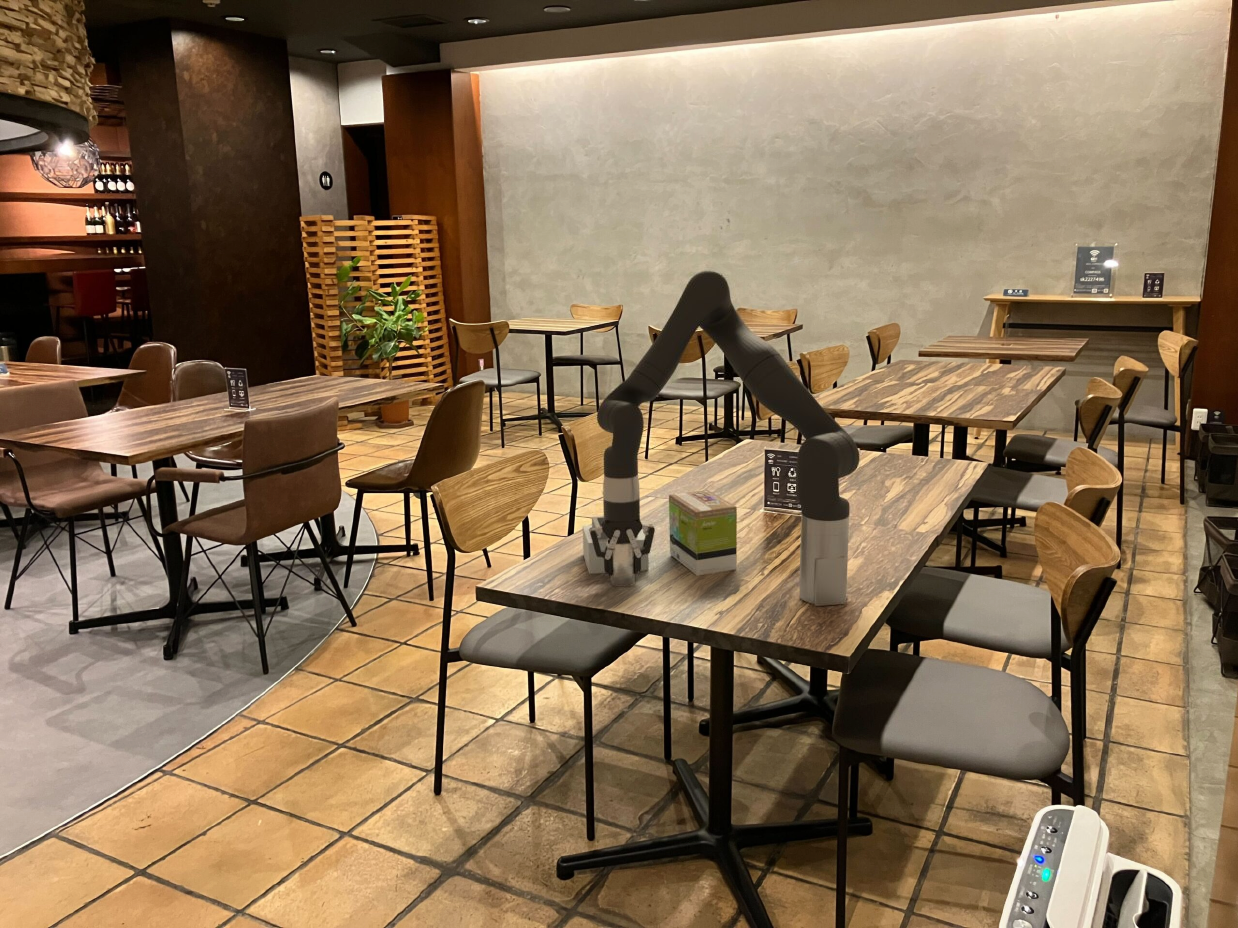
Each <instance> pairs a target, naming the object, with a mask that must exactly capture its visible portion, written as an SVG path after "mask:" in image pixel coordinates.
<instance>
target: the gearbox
mask: <svg viewBox="0 0 1238 928" xmlns="http://www.w3.org/2000/svg"><path fill="white" fill-rule="evenodd" d="M603 521H604V515H601V516H592V517H591V524H588V525H587V524H584V525H582V550H583V551H582V553H583V558H584V561H585V564H586V568H587V570H588V573H589V575H593V574H606V572H605V570H604V558H602V557H597V556H596V553H595V549H594V546H593V542H592V539H591V535H590V532H589V529H590V528H591V527H593V528H597V527H601V526H602V524H603ZM635 539H636V542H637V544H638V547H639V548H641V547H643V543H644V539H645V535H644V533H643V530H641V531H640V533H639V534H638V535H637V537H636V538H635ZM607 540H608V537H607V536H606V535H605V533H604V532H601V537H600V538H598V541H599V545H600V548H601V550H605V547H606V543H607ZM649 559H650V558H649V554H645V555H643V556H642V557H641V571H649V569H650V566H649V564H650V563H649Z"/></svg>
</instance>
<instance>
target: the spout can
mask: <svg viewBox="0 0 1238 928" xmlns="http://www.w3.org/2000/svg"><path fill="white" fill-rule="evenodd" d="M611 560H612V576H610V583H611V585H613V586H616V587H628V586H629V587H630V586H633V585H635V583H636V582H635V581H636V579H635V578H636V576H635V575H636V574H635V569H634V550H633V547H632V543H631V542H630V543H616V544H615V548H614V550H613V552H612V555H611Z"/></svg>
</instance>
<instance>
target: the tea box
mask: <svg viewBox="0 0 1238 928" xmlns="http://www.w3.org/2000/svg"><path fill="white" fill-rule="evenodd" d="M737 511H738V507H737V506H736V505H735V504H732V502H729V501H727V500H725V498H722V497H721V496H718V495H717V494H715V493H713V492H712V491H710V490H708V489H703V490H696V491H690V492H689V491H688V492H682V493H676V494H675V493H674V494H668V512H669V513H668V514H669V515H668V516H669V517H668V521H669V554H670V556H672V557H673V558H674V559H675V560H676V561H678V562H679V563H681V564H682V565H683V566H685V567H686V568H687V569H688V570H689V571H691V572H692V573H693V574H694V575H695V574H696V575H695V576H697V575H699V576H704V575H703V574H705V575H710V573H712V574H718V573H722V572H723V573H724V572H729V571H735V570H737V565H738V561H737V559H738V558H737V557H738V555H737V553H738V552H737V544H738V542H737V541H738V540H737V539H738V535H737V533H738V530H737V529H738V526H737V524H738V520H737V519H738V514H737V513H738V512H737Z"/></svg>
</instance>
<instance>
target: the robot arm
mask: <svg viewBox="0 0 1238 928" xmlns="http://www.w3.org/2000/svg"><path fill="white" fill-rule="evenodd" d="M698 328H700V329H702V331H703V332H704V333H705V334H706V335H707V336H708V337H709V338H710V339H711V340H712V341H713V342H714V343H715V344H716V345H717V347H718V348H719V349H720V350H721V352H722V354H724V356H725V358H726V359H727V361H728V362H729V364H730V365H731V367H732V369H733V370H734V372H735V373H736V374H737V375H738V377H739V379H740V380H741V381H742V383H743V384H744V385H745V387H746V388H747V390H748V391H749V392H750V393H751V394H752V397H754V398H755V399H756V401H758V403H759V404H761V405H762V406H763V407H764V408H766V409H767V410H768V411H770V412H772V413H773V414H774V415H776V416H778V417H779V418H781V419H783V421H786V422H787V423H789V424H790V425H791V426H793V427H794V428H795V429H796V430H797V431H798V432H799V433H800V435H802V436H803V438H804V439H805V440H804V441H803V442H802V443H801V445H800V447H799V449H798V451H797V458H796V483H797V484H796V488H797V498H798V502H799V505H800V508H801V513H800V514H801V517H800V521H801V522H800V553H799V559H800V560H799V590H798V591H799V592H798V593H799V595H798V596H799V598H800V599H801V600H802V601H805V602H806V603H810V604H812V605H814V606H815V607H820V606H831V605H832V606H834V605H835V606H837V605H845V604H846V601H847V593H848V592H847V587H848V562H849V561H848V559H849V557H848V556H849V531H850V510H851V509H850V507H851V506H850V501H848V500H847V499H846V498H845V497H843V496H840V479H842V478H846V477H847V476H849V475H851V474H853V473H854V472H856V470H857V468H858V466H859V464H860V451H859V448H858V446H857V444H856V442H855V440H854V439H853V437H851V435H850V434H849V433H848V432H847V431H846V430H845V429H844V428H843V427H842V425H840V423H838V422H837V421H836V420H835V418H833V417H832V416H831V414H829V413H828V412H827V411H826V409H824V407H822V406H821V404H820V403H819V402H818V401H817V400H816V397H814V395H813V394H812V393H811V392H810V390H808V388H807V387H806V386H805V385H804V383H803V382H802V381H801V379H799V377H798V376H797V374H796V373H795V372H794V370H793V369H792V367H791V366H790V365H789V364H788V363H787V361H786V360H785V359H784V358H783V356H782V355H781V354H780V353H779V351H778V350H777V349H776V348H775V347H774V346H773V345H772V344H770V343H769V342H767V341H766V340H764V338H762V337H760V336H758V335H757V334H756V333H754V332H753V331H752V330H751V329H750V328H749V326H748V325H747V324H746V323H745V321H744V320H743V319H742V317H741V316H740V315H739V313H738V312H737V309H736V308H735V306H734V304H733V303H732V300H731V290H730V286H729V284H728V280H727V279H726V277H725V276H724V275H723V274H721V272H718V271H715V270H711V269H710V270H709V269H708V270H707V269H706V270H702V271H700V272H698V273H696V274H694V275H693V276H692V277H691V278H690V279H689V281H688V283H687V284H686V286H685V287H684V290H683V292H682V293H681V296H680V298H679V299H678V302H677V304H676V306H675V307H674V309H673V311H672V313H671V314H670V316H669V318H668V320H667V321H666V322H665V325H664V326H663V328H662V329H661V331H660V332H659V334H658V335H657V337H656V338H655V340H654V342H653V343H652V344H651V346H650V348H649V349H648V350H647V351H646V352H645V354H644V355H643V356H642V358H641V359H640V361H639V362H638V363H637V364H636V366H635V368H633V370H632V371H631V373H630V374H629V376H628V377H627V378H626V379H625V380H624V381H622V382H621V383H620V384H618V386H617V387H615V388H614V389H613V390H612V391H611V392H610V393H609V394H608V395H607V396H606V397H604V399H603V400H602V402H601V403H600V405H599V407H598V410H597V414H596V421H597V424H598V425H599V427H600V428H601V429H602V430H603V431H605V432H608V433H610V434H612V442H611V445H610V446H608V447H606V448H605V450H604V452H603V482H602V496H603V499H602V501H603V502H602V503H603V504H602V505H603V516H604V521H603V524H602V526H601V527H597V528H593V527H591V528H590V529H589V532H590V535H591V539H592V542H593V546H594V549H595V553H596V556H597V557H602V558H604V570H605V572H606V573H605V574H607V577H611V576H612V560H611V555H612V552H613V550H614V548H615V544H616V543H630V542H631V543H632V547H633V550H634V569H635V575H639V572H641V571H642V570H641V557H642V556H643V555H645V554H648V555H649V554H651V548H652V545H653V541H654V536H655V532H656V528H655V526H654V525H653V524H651V523H650V524H644V523H642V522H641V514H640V513H641V507H640V506H641V504H640V503H641V502H640V500H641V498H640V494H641V493H640V480H639V460H638V455H639V451H640V447H641V443H642V438H643V434H644V433H643V432H644V428H645V427H644V426H645V425H644V423H645V421H644V420H645V419H644V416H643V412H642V410H641V408H640V405H643V404H644V403H647V402H651V401H653V400H655V399H656V397H658V395H659V394H660V392H661V391H662V390H663V388H665V386H666V384H667V383H668V382H669V380H670V379H671V378H672V376H673V374H674V373H675V371H676V370H677V367H678V366H679V365H680V362H681V360H682V357H683V356H684V354H685V352H686V349H687V347H688V345H689V343H690V341H691V339H692V338H693V335H694V334H695V333H696V331H697V330H698ZM641 530H643V533H644V535H645V539H644V543H643V547H641V548H639V547H638V544H637V542H636V539H635V538H636V537H637V535H638V534H639V533H640V531H641ZM601 532H604V533H605V535H606V536H607V537H608V540H607V543H606V547H605V550H601V548H600V545H599V541H598V538H600V537H601Z"/></svg>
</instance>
